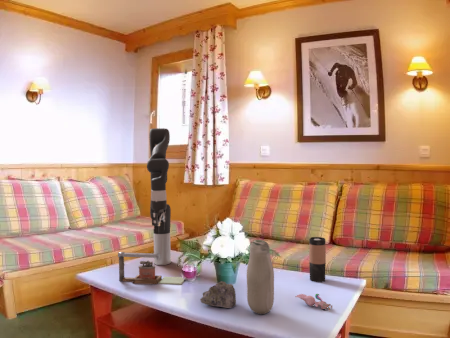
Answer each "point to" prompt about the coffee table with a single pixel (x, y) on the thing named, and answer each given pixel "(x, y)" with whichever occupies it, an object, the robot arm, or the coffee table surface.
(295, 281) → the coffee table surface
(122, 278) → the dock
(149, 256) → the grey bar
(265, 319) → the coffee table surface
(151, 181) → the robot arm
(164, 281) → the pad
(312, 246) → the travel mug
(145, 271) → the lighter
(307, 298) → the pink elongated figure
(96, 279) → the coffee table surface
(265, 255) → the brown clay vase
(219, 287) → the mineral rock
